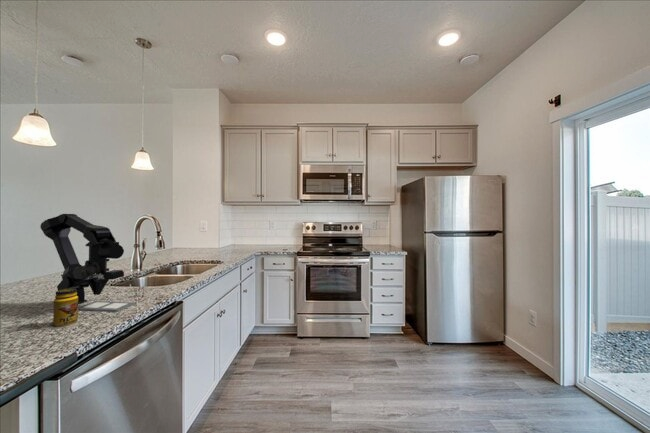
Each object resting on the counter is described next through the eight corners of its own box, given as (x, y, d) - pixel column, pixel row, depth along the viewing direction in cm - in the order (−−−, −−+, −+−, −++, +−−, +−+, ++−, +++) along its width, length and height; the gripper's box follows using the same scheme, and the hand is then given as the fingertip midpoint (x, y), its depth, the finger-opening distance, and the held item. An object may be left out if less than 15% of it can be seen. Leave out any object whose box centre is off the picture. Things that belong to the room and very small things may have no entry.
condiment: (72, 326, 88) (73, 291, 88) (39, 330, 85) (40, 294, 85) (83, 318, 94) (84, 286, 94) (53, 321, 91) (54, 288, 91)
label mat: (74, 310, 102) (74, 308, 102) (95, 302, 111) (95, 300, 111) (117, 311, 102) (117, 309, 102) (135, 304, 111) (135, 302, 111)
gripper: (55, 259, 99) (54, 300, 99) (101, 261, 98) (100, 301, 98) (84, 255, 110) (83, 291, 110) (125, 256, 109) (124, 293, 109)
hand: (97, 294), depth 107 cm, fingers closed
